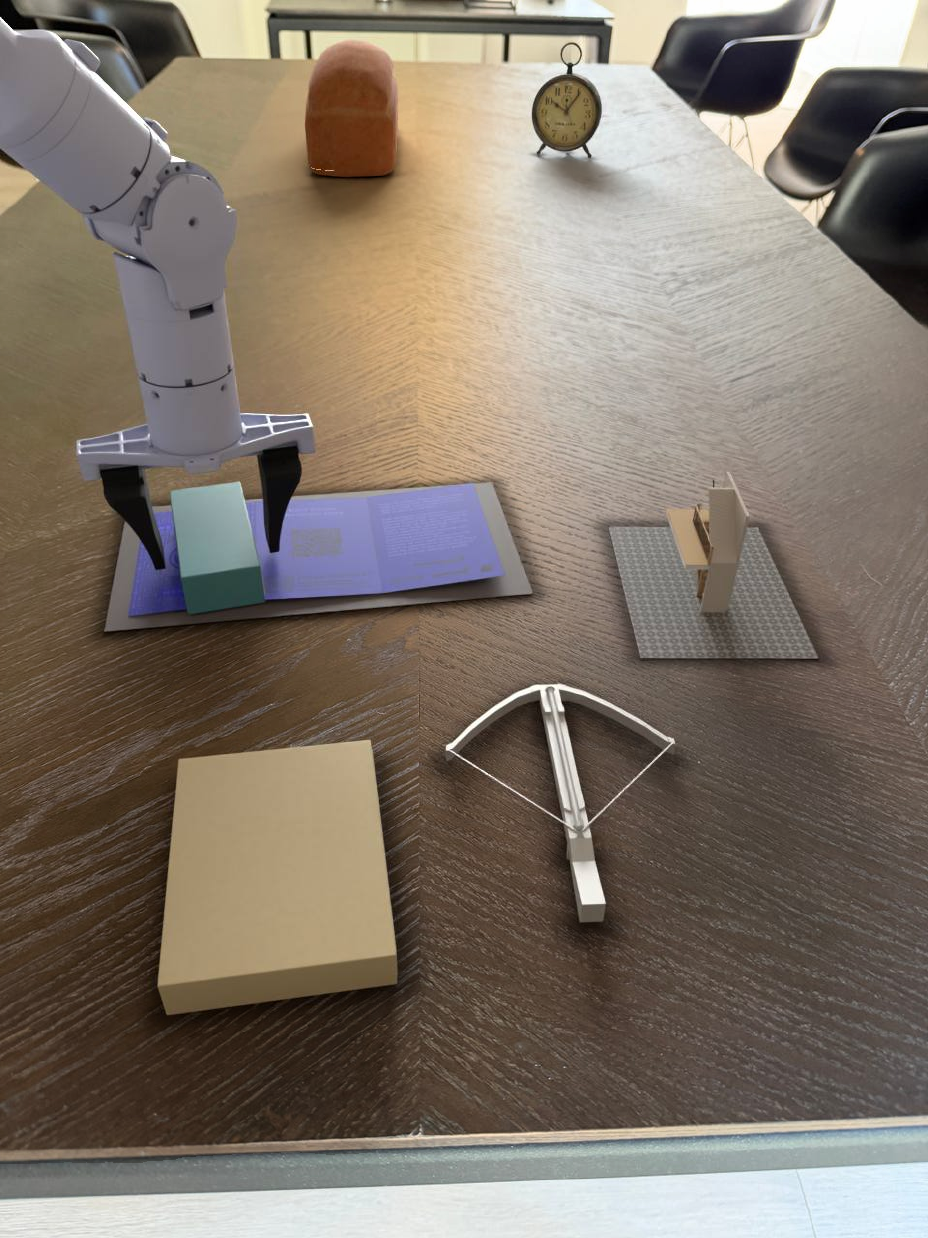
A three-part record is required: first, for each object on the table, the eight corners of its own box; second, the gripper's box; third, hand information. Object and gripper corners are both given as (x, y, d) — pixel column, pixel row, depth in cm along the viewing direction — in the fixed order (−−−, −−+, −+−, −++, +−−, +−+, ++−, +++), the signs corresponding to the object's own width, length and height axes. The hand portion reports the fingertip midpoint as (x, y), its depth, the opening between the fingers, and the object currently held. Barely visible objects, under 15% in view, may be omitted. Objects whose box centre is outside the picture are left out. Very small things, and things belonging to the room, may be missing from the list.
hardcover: (167, 1018, 42) (156, 986, 40) (186, 791, 52) (178, 758, 50) (398, 986, 43) (397, 955, 42) (373, 771, 53) (371, 739, 52)
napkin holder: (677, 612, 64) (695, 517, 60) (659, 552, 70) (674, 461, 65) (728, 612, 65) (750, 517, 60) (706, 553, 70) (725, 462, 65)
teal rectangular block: (188, 615, 63) (180, 578, 61) (176, 525, 71) (169, 490, 69) (266, 602, 64) (261, 565, 62) (245, 515, 72) (240, 480, 70)
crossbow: (441, 707, 58) (441, 680, 57) (649, 701, 59) (653, 674, 58) (456, 929, 45) (456, 900, 44) (723, 918, 46) (731, 889, 44)
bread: (305, 177, 146) (296, 60, 137) (321, 128, 172) (314, 25, 162) (396, 178, 147) (394, 61, 137) (399, 128, 172) (397, 27, 163)
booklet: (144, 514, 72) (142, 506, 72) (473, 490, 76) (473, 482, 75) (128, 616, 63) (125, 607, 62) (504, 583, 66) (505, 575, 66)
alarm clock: (528, 156, 159) (535, 42, 149) (534, 148, 163) (540, 37, 153) (595, 161, 157) (606, 46, 147) (598, 153, 161) (609, 41, 151)
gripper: (57, 410, 54) (108, 603, 62) (316, 382, 57) (331, 569, 66) (60, 359, 59) (106, 544, 67) (297, 336, 62) (313, 515, 71)
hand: (217, 553), depth 67 cm, fingers open, 7 cm apart
